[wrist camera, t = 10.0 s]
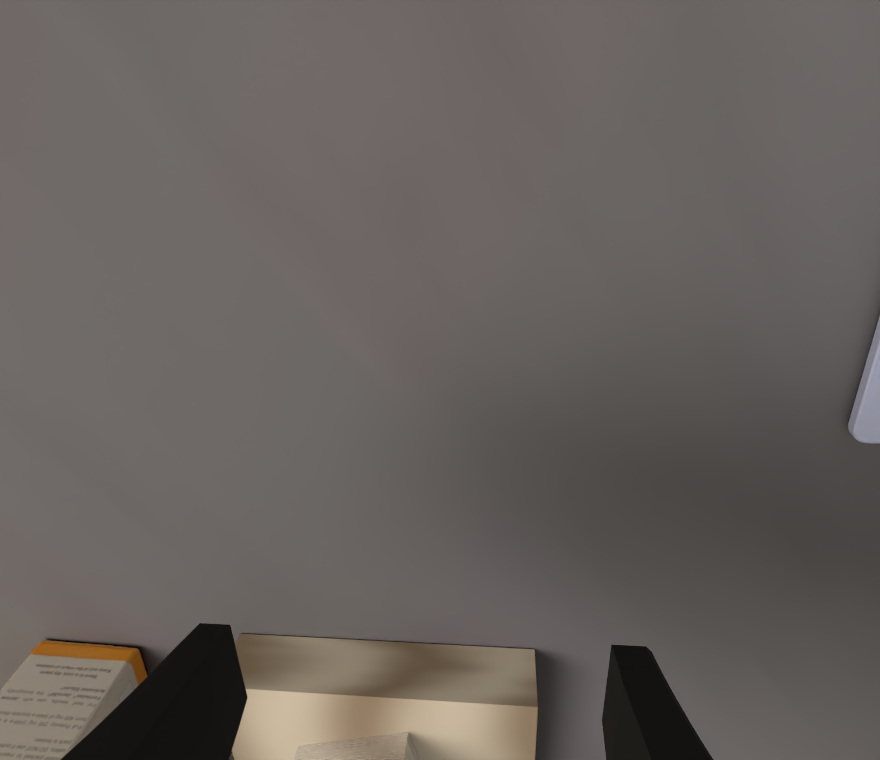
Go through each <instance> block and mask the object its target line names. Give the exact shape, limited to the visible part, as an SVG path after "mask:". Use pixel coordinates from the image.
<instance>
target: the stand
mask: <svg viewBox="0 0 880 760" xmlns="http://www.w3.org/2000/svg"><path fill="white" fill-rule="evenodd" d="M235 647H236V651H237V655H238V660H239V664H240V668H241V672H242V676H243V680H244V684H245V689H246V693H247V697H248V698H247V702H246V705H245V709H244V712H243V715H242V719H241V722H240V726H239V729H238V732H237V735H236V738H235V741H234V745H233V748H232V753H233V756H234V760H294V758H295V754H296V751H297V748H298V746H299V745H307V744H314V743H322V742H330V741H338V740H346V739H354V738H362V737H369V736H377V735H385V734H393V733H401V732H409V734H410V736H411V738H412V740H413V742H414V744H415V746H416V748H417V750H418V752H419V754H420V756H421V758H422V760H535V750H536V733H537V715H538V700H537V683H536V666H535V649H519V648H500V647H481V646H462V645H444V644H425V643H406V642H387V641H369V640H350V639H331V638H312V637H294V636H275V635H256V634H240V635H239V638H238V640H237V642H236V644H235Z"/></svg>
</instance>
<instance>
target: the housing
mask: <svg viewBox="0 0 880 760" xmlns="http://www.w3.org/2000/svg"><path fill="white" fill-rule="evenodd" d="M294 760H422V758H421V756H420V754H419V752H418V750H417V748H416V746H415V744H414V742H413V740H412V738H411V736H410V734H409V732H401V733H393V734H385V735H377V736H369V737H362V738H354V739H346V740H338V741H330V742H322V743H314V744H307V745H299V746H298V748H297V751H296V754H295V758H294Z"/></svg>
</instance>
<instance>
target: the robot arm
mask: <svg viewBox="0 0 880 760" xmlns="http://www.w3.org/2000/svg"><path fill="white" fill-rule="evenodd" d="M848 430H849V432H850V434H851V435H852V436H853V437H854V438H855V439H857V440H858V441H860V442H863V443H880V317H879V320H878V324H877V327H876V330H875V334H874V337H873V341H872V344H871V348H870V351H869V354H868V358H867V361H866V365H865V368H864V372H863V375H862V378H861V382H860V385H859V389H858V392H857V395H856V399H855V402H854V406H853V409H852V413H851V416H850V419H849V423H848ZM247 698H248V697H247V693H246V689H245V684H244V680H243V676H242V672H241V668H240V664H239V660H238V655H237V651H236V647H235V643H234V639H233V635H232V630H231V626H230V625H221V624H202V623H200V624H199V625H198V626H197V627H196V628H195V629H194V630H193V631H192V632H191V633H190V634H189V635H188V636H187V637H186V638H185V639H184V640H183V641H182V642H181V643H180V644H179V645H178V646H177V647H176V648H175V649H174V650H173V651H172V652H171V653H170V654H169V655H168V656H167V657H166V658H165V659H164V660H163V661H162V662H161V663H160V664H159V665H158V666H157V667H156V668H155V669H154V670H153V671H152V672H151V673H150V674H149V675H148V676H147V677H146V678H145V679H144V680H143V681H142V682H141V683H140V684H139V685H138V686H137V687H136V688H135V689H134V690H133V691H132V692H131V693H130V694H129V695H128V696H127V697H126V698H125V699H124V700H123V701H122V702H121V703H120V704H119V705H118V706H117V707H116V708H115V709H114V710H113V711H112V712H111V713H110V714H109V715H108V716H107V717H106V718H105V719H104V720H103V721H102V722H101V723H100V724H99V725H97V726H96V727H95V728H94V729H93V730H92V731H91V732H90V733H89V734H88V735H87V736H86V737H85V738H84V739H82V740H81V741H80V742H79V743H78V744H77V745H76V746H75V747H74V748H73V749H71V750H70V751H69V752H68V753H67V754H66V755H65V756H64V757H63V758H62V759H61V760H228V759H229V757H230V754H231V751H232V748H233V745H234V741H235V738H236V735H237V732H238V729H239V726H240V722H241V719H242V715H243V712H244V709H245V705H246V702H247ZM602 724H603V733H604V742H605V751H606V760H713V759H712V757H711V755H710V754H709V752H708V751H707V749H706V748H705V746H704V744H703V743H702V741H701V740H700V738H699V736H698V735H697V733H696V731H695V730H694V728H693V727H692V725H691V723H690V722H689V720H688V718H687V716H686V715H685V713H684V711H683V709H682V708H681V706H680V704H679V703H678V701H677V699H676V697H675V696H674V694H673V692H672V690H671V688H670V687H669V685H668V683H667V681H666V679H665V677H664V675H663V673H662V672H661V670H660V668H659V666H658V664H657V662H656V660H655V658H654V656H653V654H652V652H651V651H650V650H649V649H648V648H647V647H644V646H625V645H611V653H610V661H609V669H608V677H607V685H606V693H605V701H604V709H603V717H602Z"/></svg>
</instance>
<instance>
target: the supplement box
mask: <svg viewBox="0 0 880 760" xmlns="http://www.w3.org/2000/svg"><path fill="white" fill-rule="evenodd" d="M146 677H147V673H146V670H145V666H144V664H143V660H142V658H141V653H140V651H139V649H137V648H128V647H121V646H113V645H98V644H89V643H86V644H84V643H72V642H61V641H50V640H45V641H42V642H40V643H39V644H38V645H37V647H36V648H35V649H34V650H33V651H32V653H31V654H30V655H29V656H28V657H27V658H26V660H25V661H24V662H23V663H22V664H21V666H20V667H19V668H18V669H17V671H16V672H15V673H14V674H13V675H12V677H11V678H10V679H9V680H8V681H7V682H6V684H5V685H4V686H3V687H2V688H1V690H0V760H61V759H62V758H63V757H64V756H65V755H66V754H67V753H68V752H69V751H70V750H71V749H73V748H74V747H75V746H76V745H77V744H78V743H79V742H80V741H81V740H82V739H84V738H85V737H86V736H87V735H88V734H89V733H90V732H91V731H92V730H93V729H94V728H95V727H96V726H97V725H99V724H100V723H101V722H102V721H103V720H104V719H105V718H106V717H107V716H108V715H109V714H110V713H111V712H112V711H113V710H114V709H115V708H116V707H117V706H118V705H119V704H120V703H121V702H122V701H123V700H124V699H125V698H126V697H127V696H128V695H129V694H130V693H131V692H132V691H133V690H134V689H135V688H136V687H137V686H138V685H139V684H140V683H141V682H142V681H143V680H144V679H145V678H146Z"/></svg>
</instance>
